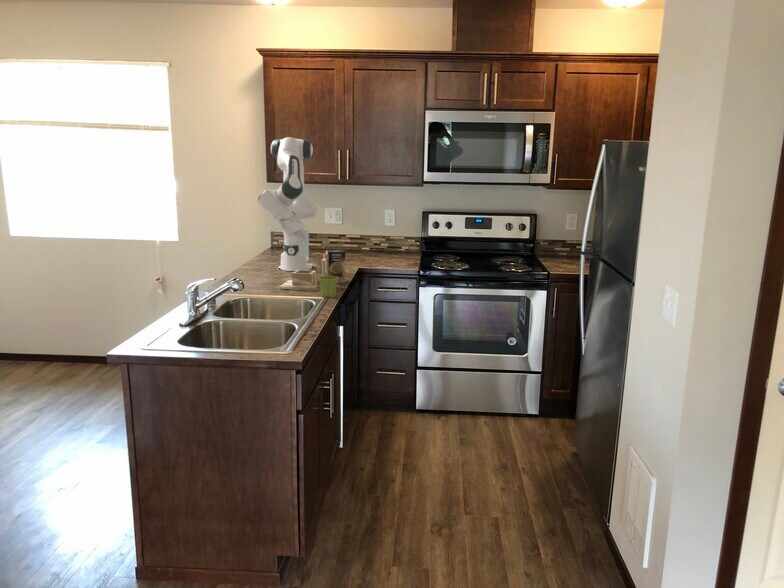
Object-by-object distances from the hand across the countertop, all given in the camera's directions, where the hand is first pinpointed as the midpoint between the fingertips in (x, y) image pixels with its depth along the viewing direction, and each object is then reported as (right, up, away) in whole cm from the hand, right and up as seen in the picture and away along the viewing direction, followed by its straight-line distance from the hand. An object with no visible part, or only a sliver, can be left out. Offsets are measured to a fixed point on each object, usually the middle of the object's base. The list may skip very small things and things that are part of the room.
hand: (305, 239), depth 295 cm
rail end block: (-1, -8, +2) cm, 8 cm away
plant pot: (+13, -27, -13) cm, 33 cm away
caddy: (-1, -23, +5) cm, 23 cm away
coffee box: (+13, -20, +19) cm, 30 cm away
